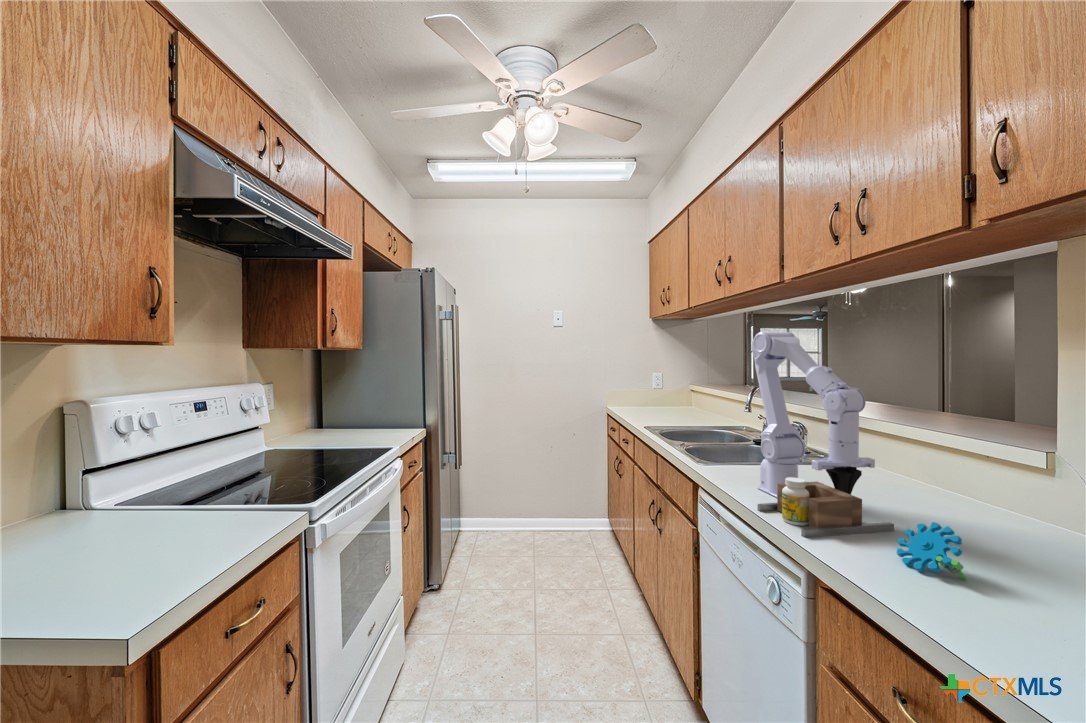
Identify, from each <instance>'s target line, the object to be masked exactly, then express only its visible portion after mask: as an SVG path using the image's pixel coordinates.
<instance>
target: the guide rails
mask: <svg viewBox="0 0 1086 723" xmlns="http://www.w3.org/2000/svg"><path fill="white" fill-rule="evenodd" d="M757 511H759V512H773V511H778V510H777V502H766V503H757ZM800 530H801V532H800V533H801V536H802V537H803V538H813V537H815V538H816V537H828V536H829V537H830V536H840V535H842V536H843V535H854V534H870V533H883V532H884V533H885V532H894V531H895V523H893V522H890V521H889V522H872V523H862V524H857V525H842V526H828V527H813V528H809V527H801V529H800Z"/></svg>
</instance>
